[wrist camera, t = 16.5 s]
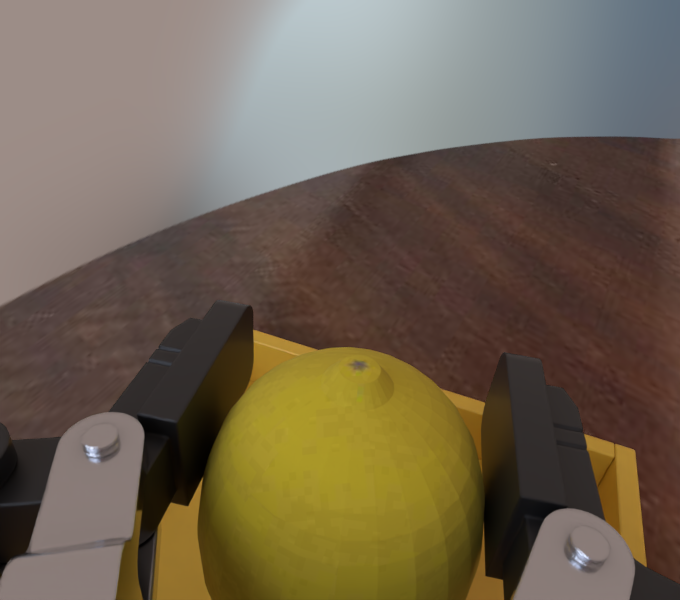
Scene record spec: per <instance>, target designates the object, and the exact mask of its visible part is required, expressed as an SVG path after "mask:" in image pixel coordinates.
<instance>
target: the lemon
mask: <svg viewBox="0 0 680 600" xmlns="http://www.w3.org/2000/svg"><path fill="white" fill-rule="evenodd" d="M484 509H485V491H484V482H483V476H482V472H481V467H480V463H479V459H478V455H477V450H476V447H475V443H474V439H473V437H472V435H471V433H470V431H469V430H468V428H467V426H466V424H465V422H464V420H463V419H462V417H461V415H460V413H459V411H458V410H457V408H456V406H455V405H454V404H453V402H452V401H451V400H450V399H449V398H448V397H447V396H446V395H445V394H444V393H443V391H442V390H441V389H440V388H439V387H438V386H437V385H436V384H435V383H434V382H433V381H432V380H431V379H429V378H428V377H427V376H425V375H424V374H423V373H421V372H420V371H418V370H417V369H416V368H414V367H413V366H411V365H409V364H407V363H405V362H403V361H401V360H399V359H397V358H394V357H392V356H390V355H387V354H384V353H380V352H377V351H373V350H370V349H361V348H353V347H340V348H327V349H322V350H318V351H313V352H309V353H305V354H301V355H299V356H297V357H294V358H292V359H290V360H287V361H285V362H283V363H281V364H279V365H277V366H276V367H274V368H273V369H271V370H270V371H268V372H267V373H266V374H264V375H263V376H262V377H260V378H259V379H257V380H256V381H255V382H254V383H253V384H252V385H251V386H250V387H249V388H248V389H247V390H246V391H245V393H244V394H243V395H242V396H241V397H240V399H239V400H238V401H237V402H236V403H235V405H234V406H233V407H232V408H231V410H230V411H229V413H228V415H227V416H226V418H225V420H224V422H223V424H222V426H221V429H220V431H219V433H218V435H217V437H216V440H215V442H214V444H213V447H212V449H211V452H210V454H209V457H208V460H207V463H206V467H205V471H204V476H203V481H202V488H201V496H200V504H199V512H198V523H197V535H198V543H199V549H200V556H201V562H202V568H203V574H204V580H205V584H206V587H207V590H208V593H209V595H210V597H211V599H212V600H466V598H467V596H468V593H469V590H470V588H471V585H472V582H473V579H474V577H475V574H476V571H477V568H478V565H479V561H480V556H481V550H482V539H483V524H484Z"/></svg>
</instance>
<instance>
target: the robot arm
mask: <svg viewBox="0 0 680 600" xmlns="http://www.w3.org/2000/svg"><path fill="white" fill-rule="evenodd" d="M253 363H254V338H253V309H252V307H251V306H250V305H244V304H239V303H233V302H228V301H222V300H217V301H216V302H215V303H214V304H213V306H212V307H211V309H210V310H209V311H208V313H207V314H206V316H205V317H204V319H203V320H200V319H194V318H189V319H188V320H186V321H185V322H183V323H181V324H180V325H178V326H177V327H175V328H173V329H172V330H171V331H170V332H169V333H168V335H167V336H166V337H165V339H164V340H163V341H162V342H161V344H160V345H159V349H156V350H155V352H154V353H153V354H152V356H151V357H150V358H149V362H148V363H147V362H146V363H145V365H144V366H143V367H142V369H141V370H140V371H139V373H138V374H137V375H136V377H135V378H134V379H133V380H132V382H131V383H130V384H129V386H128V387H127V388H126V390H125V391H124V392H123V394H122V395H121V396H120V397H119V399H118V400H117V401H116V403H115V404H114V405H113V407H112V408H111V409H110V411H109V412H106V413H100V414H96V415H92V416H90V417H87V418H85V419H83V420H81V421H79V422H77V423H76V424H74V425H73V426H72V427H71V428H69V429H68V430H67V431H66V432H65V434H64V435H63V436H62V437H54V438H40V439H24V440H11V437H10V435H9V432H8V430H7V428H6V427H5V426H4V425H3V424H2V423H0V600H157V587H158V573H159V560H160V546H161V532H162V528H161V520H162V518H163V516H164V514H165V512H166V510H167V508H168V506H169V505H170V503H175V504H179V505H183V506H189V504H190V502H191V500H192V498H193V496H194V494H195V492H196V490H197V488H198V486H199V484H200V482H201V480H202V478H203V476H204V471H205V467H206V463H207V460H208V457H209V454H210V452H211V449H212V447H213V444H214V442H215V440H216V437H217V435H218V433H219V431H220V429H221V426H222V424H223V422H224V420H225V418H226V416H227V415H228V413H229V411H230V410H231V408H232V407H233V406H234V405H235V403H236V402H237V401H238V400H239V399H240V397H241V396H242V395H243V394H244V392H245V390H246V388H247V386H248V384H249V381H250V378H251V374H252V370H253ZM582 431H583V427H582V423H581V419H580V415H579V411H578V408H577V406H576V405H575V404H574V402H573V401H572V400H571V398H570V397H569V395H568V394H567V393H566V391H565V390H564V389H563V388H560V387H555V386H550V385H546V382H545V377H544V372H543V366H542V362H541V360H540V359H538V358H532V357H527V356H521V355H516V354H511V353H505V352H504V353H503V354H502V355H501V357H500V360H499V363H498V366H497V369H496V372H495V375H494V378H493V381H492V384H491V387H490V390H489V393H488V396H487V399H486V402H485V406H484V410H483V415H482V423H481V453H482V476H483V482H484V491H485V509H484V547H485V576H487V577H492V578H496V579H501V580H503V589H504V600H680V584H678V583H676V582H674V581H672V580H670V579H668V578H666V577H664V576H662V575H660V574H658V573H656V572H654V571H653V570H651V569H649V568H647V567H646V566H644V565H643V564H641V563H640V562H638V561H637V560H636V559H634V558H633V555H632V553H631V551H630V549H629V546H628V545H627V543H626V542H625V540H624V539H623V538H622V536H621V535H620V534H619V533H618V532H617V531H616V530H615V529H614V528H613V527H612V526H611V525H609V524H608V523H607V522H606V520H605V517H604V513H603V509H602V505H601V501H600V497H599V493H598V489H597V484H596V480H595V476H594V472H593V468H592V464H591V460H590V456H589V452H588V451H587V443H586V439H585V435H584V433H583V432H582Z"/></svg>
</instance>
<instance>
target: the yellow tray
mask: <svg viewBox="0 0 680 600" xmlns="http://www.w3.org/2000/svg"><path fill="white" fill-rule="evenodd" d="M253 338H254V363H253V370H252V374H251V378H250V381H249V384H248V386H247V388H246V390H247V389H248V388H249V387H250V386H251V385H252V384H253V383H254V382H255V381H256V380H257V379H259V378H260V377H262V376H263V375H264V374H266V373H267V372H268V371H270V370H271V369H273V368H274V367H276V366H277V365H279V364H281V363H283V362H285V361H287V360H290V359H292V358H294V357H297V356H299V355H301V354H305V353H309V352H313V351H318V350H316V349H313V348H310V347H307V346H304V345H300V344H297V343H294V342H291V341H288V340H285V339H281V338H278V337H275V336H272V335H269V334H266V333H262V332H259V331H256V330H253ZM246 390H245V391H246ZM441 390H442V391H443V393H444V394H445V395H446V396H447V397H448V398H449V399H450V400H451V401H452V402H453V404H454V405H455V406H456V408H457V410H458V411H459V413H460V415H461V417H462V419H463V420H464V422H465V424H466V426H467V428H468V430H469V431H470V433H471V435H472V437H473V439H474V443H475V447H476V450H477V455H478V459H479V463H480V467H481V472H482V453H481V423H482V415H483V410H484V406H485V403H484V402H481V401H478V400H475V399H472V398H469V397H465V396H462V395H459V394H456V393H453V392H450V391H446V390H443V389H441ZM244 393H245V392H244ZM584 435H585V439H586V443H587V451H588V452H589V456H590V460H591V464H592V468H593V472H594V476H595V480H596V484H597V489H598V493H599V497H600V501H601V505H602V509H603V513H604V517H605V520H606V522H607V523H608V524H609V525H611V526H612V527H613V528H614V529H615V530H616V531H617V532H618V533H619V534H620V535H621V536H622V538H623V539H624V540H625V542H626V543H627V545H628V546H629V549H630V551H631V553H632V555H633V558H634V559H636V560H637V561H638V562H640V563H641V564H643V565H644V566H646V567H647V564H646V554H645V544H644V534H643V524H642V514H641V504H640V494H639V484H638V474H637V464H636V454H635V450H633V449H630V448H627V447H624V446H621V445H618V444H615V445H614V444H613V443H611V442H608V441H605V440H602V439H599V438H595V437H592V436H589V435H586V434H584ZM202 481H203V478H202V480H201V482H200V484H199V486H198V488H197V490H196V492H195V494H194V496H193V498H192V500H191V502H190V504H189V506H183V505H179V504H175V503H170V505H169V506H168V508H167V510H166V512H165V514H164V516H163V518H162V520H161V528H162V532H161V546H160V560H159V573H158V587H157V600H212V599H211V597H210V595H209V593H208V590H207V587H206V584H205V580H204V574H203V568H202V562H201V556H200V549H199V543H198V535H197V523H198V512H199V504H200V496H201V488H202ZM466 600H504V589H503V580H501V579H496V578H492V577H487V576H485V547H484V524H483V539H482V550H481V556H480V561H479V565H478V568H477V571H476V574H475V577H474V579H473V582H472V585H471V588H470V590H469V593H468V596H467V598H466Z"/></svg>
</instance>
